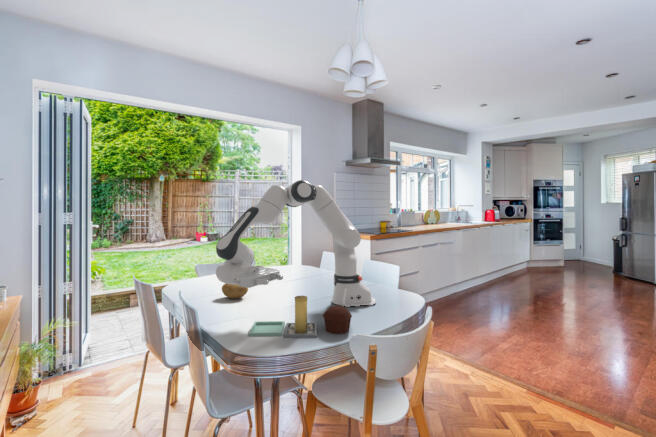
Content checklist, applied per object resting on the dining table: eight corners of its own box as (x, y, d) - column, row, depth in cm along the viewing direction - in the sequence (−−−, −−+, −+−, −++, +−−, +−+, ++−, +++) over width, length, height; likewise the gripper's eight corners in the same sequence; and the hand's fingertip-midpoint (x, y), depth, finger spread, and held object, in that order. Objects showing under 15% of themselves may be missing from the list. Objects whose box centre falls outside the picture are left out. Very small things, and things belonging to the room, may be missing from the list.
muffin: (328, 325, 133) (328, 301, 132) (354, 328, 129) (354, 303, 129) (318, 336, 121) (318, 310, 121) (347, 340, 118) (347, 313, 118)
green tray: (284, 326, 132) (284, 321, 131) (281, 338, 120) (281, 332, 119) (255, 326, 131) (255, 321, 131) (248, 338, 119) (248, 333, 119)
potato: (243, 301, 165) (243, 286, 165) (218, 299, 168) (218, 284, 168) (251, 296, 175) (251, 281, 174) (227, 294, 178) (227, 280, 177)
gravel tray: (316, 327, 130) (316, 321, 130) (316, 340, 118) (316, 333, 118) (286, 328, 130) (286, 322, 129) (283, 340, 118) (283, 334, 118)
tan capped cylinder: (307, 328, 126) (307, 295, 126) (307, 333, 121) (307, 299, 121) (295, 328, 126) (295, 295, 126) (294, 333, 121) (294, 299, 121)
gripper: (230, 273, 126) (257, 277, 119) (263, 265, 144) (289, 268, 138) (230, 289, 126) (257, 293, 120) (263, 279, 144) (289, 282, 138)
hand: (274, 280), depth 129 cm, fingers open, 8 cm apart
